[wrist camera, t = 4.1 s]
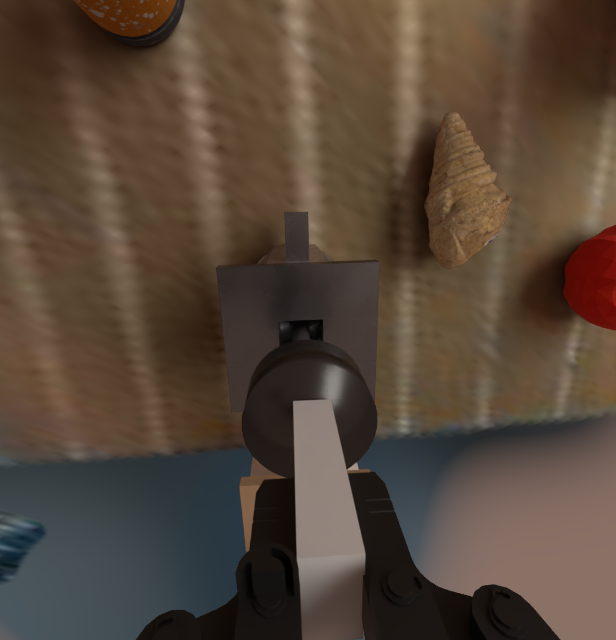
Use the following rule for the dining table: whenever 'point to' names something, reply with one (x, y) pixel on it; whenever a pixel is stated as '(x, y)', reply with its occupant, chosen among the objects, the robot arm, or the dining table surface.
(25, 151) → the dining table surface
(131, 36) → the canister
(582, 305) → the tomato
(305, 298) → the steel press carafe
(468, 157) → the seashell
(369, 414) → the steel plunger
